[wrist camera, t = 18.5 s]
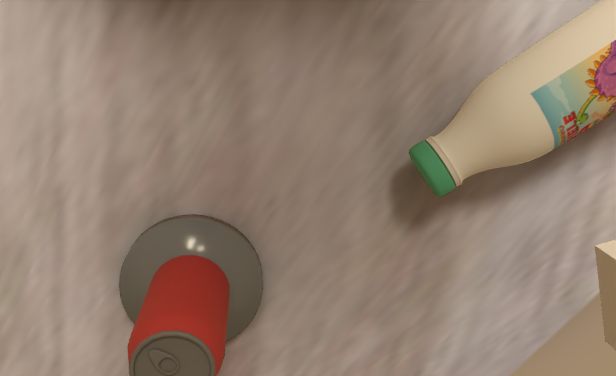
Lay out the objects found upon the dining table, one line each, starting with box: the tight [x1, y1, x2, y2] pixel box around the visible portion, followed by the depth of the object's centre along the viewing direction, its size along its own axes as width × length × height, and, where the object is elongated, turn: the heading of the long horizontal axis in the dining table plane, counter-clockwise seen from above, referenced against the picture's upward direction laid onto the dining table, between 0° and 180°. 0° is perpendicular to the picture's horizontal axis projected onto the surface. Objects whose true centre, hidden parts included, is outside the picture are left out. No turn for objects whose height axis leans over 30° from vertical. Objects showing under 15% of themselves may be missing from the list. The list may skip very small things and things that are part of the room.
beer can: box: [128, 255, 230, 376], centre depth 43 cm, size 7×7×12 cm
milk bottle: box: [409, 0, 616, 197], centre depth 45 cm, size 8×8×20 cm
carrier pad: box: [119, 215, 263, 341], centre depth 50 cm, size 12×12×2 cm
